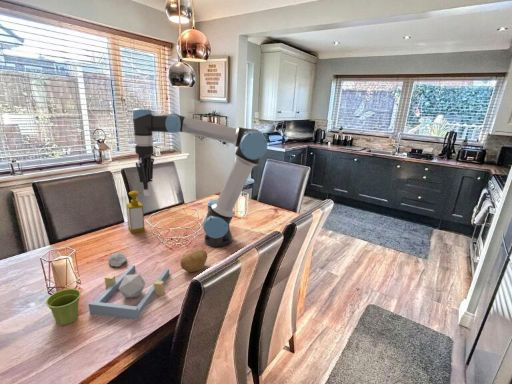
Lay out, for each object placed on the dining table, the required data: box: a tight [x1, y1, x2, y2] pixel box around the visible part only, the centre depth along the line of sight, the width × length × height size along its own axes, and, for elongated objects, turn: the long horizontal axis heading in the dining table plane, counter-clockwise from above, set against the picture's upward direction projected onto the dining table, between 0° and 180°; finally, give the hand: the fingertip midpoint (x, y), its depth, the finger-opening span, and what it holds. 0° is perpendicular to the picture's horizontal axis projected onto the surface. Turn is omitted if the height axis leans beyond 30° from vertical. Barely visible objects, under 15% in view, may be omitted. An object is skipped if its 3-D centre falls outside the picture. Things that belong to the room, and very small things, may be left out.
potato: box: [180, 249, 208, 273], centre depth 125 cm, size 10×14×8 cm
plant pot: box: [45, 288, 82, 326], centre depth 92 cm, size 9×9×9 cm
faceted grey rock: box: [118, 273, 146, 299], centre depth 106 cm, size 8×9×10 cm
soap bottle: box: [126, 190, 146, 235], centre depth 159 cm, size 7×13×24 cm, turn 125°
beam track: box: [88, 264, 170, 320], centre depth 108 cm, size 23×28×5 cm
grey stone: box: [108, 251, 128, 267], centre depth 126 cm, size 9×8×5 cm
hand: (147, 195), depth 130 cm, fingers closed
